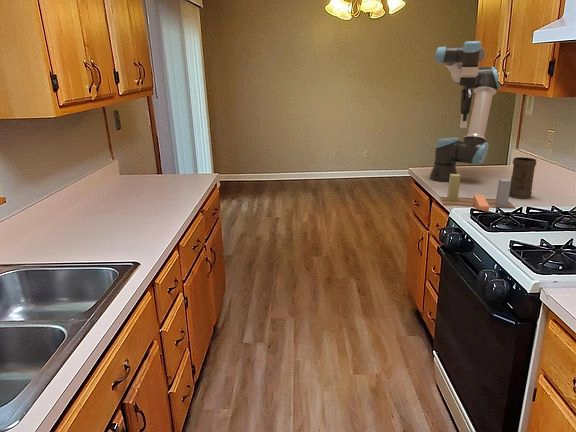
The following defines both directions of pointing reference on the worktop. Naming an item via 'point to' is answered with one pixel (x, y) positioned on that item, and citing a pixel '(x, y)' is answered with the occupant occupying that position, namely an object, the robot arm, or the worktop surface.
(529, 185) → the beer stein
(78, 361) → the worktop surface
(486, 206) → the terracotta pillar
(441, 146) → the robot arm
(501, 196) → the slate pillar
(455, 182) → the olive pillar
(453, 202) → the walnut board
